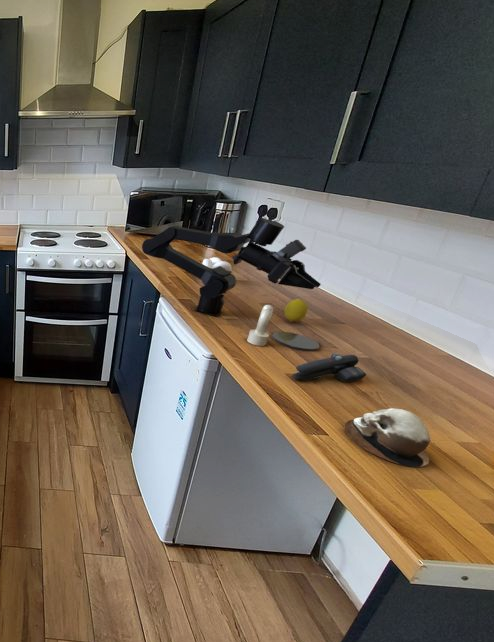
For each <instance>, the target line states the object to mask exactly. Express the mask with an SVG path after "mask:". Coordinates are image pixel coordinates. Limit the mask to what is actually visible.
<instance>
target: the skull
mask: <svg viewBox="0 0 494 642" xmlns="http://www.w3.org/2000/svg"><path fill="white" fill-rule="evenodd" d="M344 430H345V433H346V434H347V435H348V437H349V438H350V439H351V440H352V441H353V442H355V444H357V445H359V447H361V448H362V449H364V450H366V451H367V452H369V453H370V454H373V455H375V456H377V457H379V458H381V459H384V460H387V461H388V462H392V463H395V464H398V465H400V466H405V467H409V468H410V467H411V468H419V467H425V466H427V465H429V463H430V456H429V454H428V453H427V451H426V449H428V446H429V444H431V436H430V432H429V429H428V428H427V426H426V425H425V423H424V422H423V420H421V419H420V417H418V416H417V415H416V414H414V413H413V412H411V411H408V410H405V409H401V408H396V407H395V408H394V407H390V408H387V409H385V408H384V409H380V410H377V411H375V410H374V411H372V412H367V413H364V414H363V415H362V416H361V417H356V418H354V419H350V420H348V421H346V422H345V423H344Z"/></svg>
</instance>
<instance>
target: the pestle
mask: <svg viewBox="0 0 494 642" xmlns="http://www.w3.org/2000/svg"><path fill="white" fill-rule="evenodd" d="M273 311H274V307H273V305H271V304H265V305H263V306H262V309H261V312H260V314H259V318H258V320H257V324H256V326H255V329H250V330H249V333H248V336H247V339H246V341H247V342H248V343H249V344H251V345H254V346H258V347H265V346H266V345H267V342H268V340H269V337H270V334H269V333H268V332H266V331H267V329H268V326H269V323H270V320H271V317H272V315H273Z"/></svg>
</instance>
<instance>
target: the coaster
mask: <svg viewBox="0 0 494 642" xmlns="http://www.w3.org/2000/svg"><path fill="white" fill-rule="evenodd" d="M271 338H272V340H274V341H275V342H276V343H278V344H280V345H281V346H285V347H288V348H291V349H294V350H299V351H305V352H313V351H318V350H319V349H320V344H319V343H318V342H317V341H316V340H314V339H312V338H310V337H308V336H305V335H303V334H299V333H295V332H290V331H276V332H274V333H272V337H271Z"/></svg>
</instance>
